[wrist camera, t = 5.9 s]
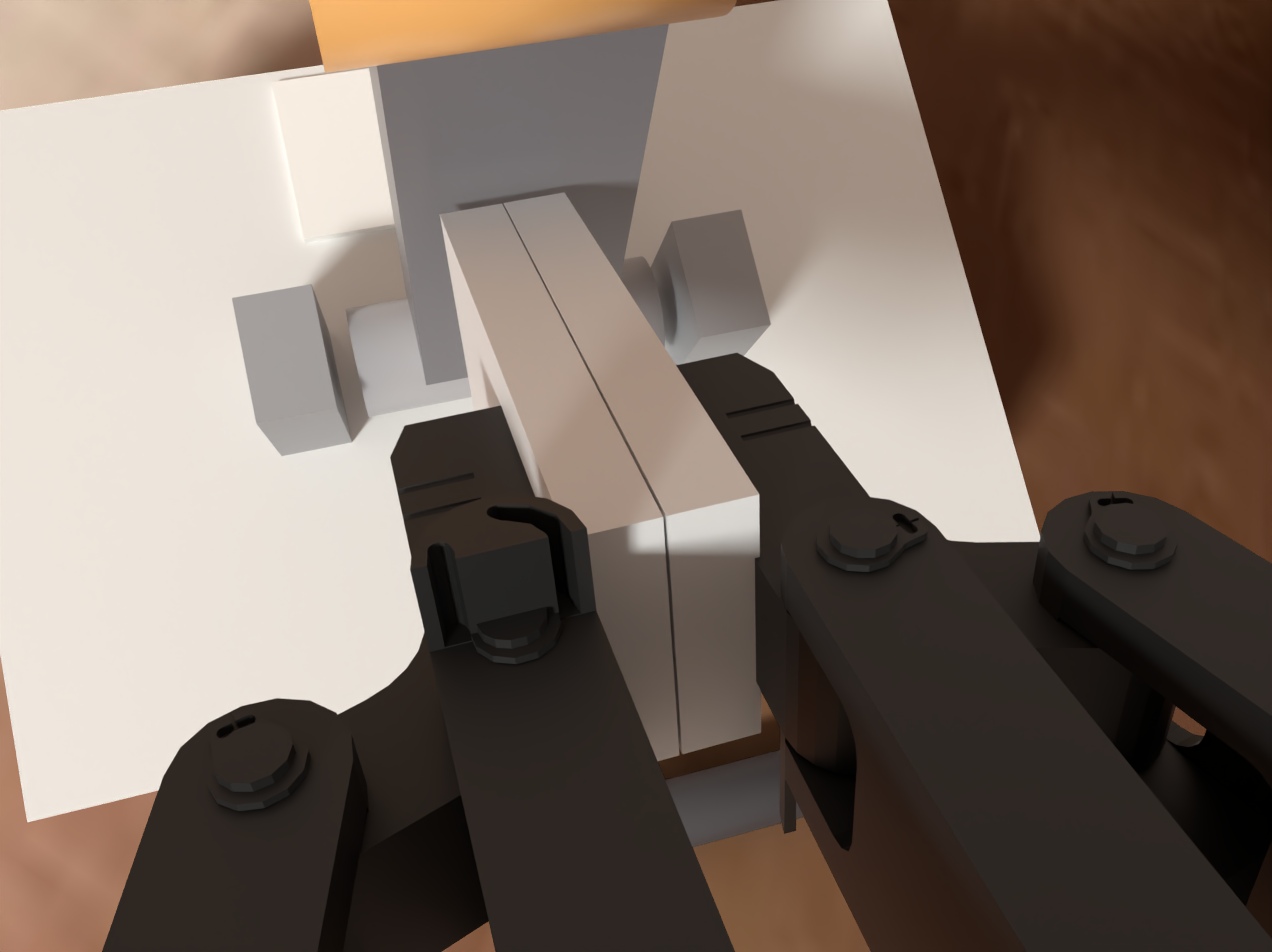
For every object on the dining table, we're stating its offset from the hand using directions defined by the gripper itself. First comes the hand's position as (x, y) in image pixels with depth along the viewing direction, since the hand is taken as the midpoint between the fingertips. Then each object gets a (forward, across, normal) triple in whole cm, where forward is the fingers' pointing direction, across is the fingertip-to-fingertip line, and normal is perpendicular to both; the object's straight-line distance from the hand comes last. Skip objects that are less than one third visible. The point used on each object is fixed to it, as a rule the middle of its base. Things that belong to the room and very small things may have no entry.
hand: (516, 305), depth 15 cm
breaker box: (+9, 0, +11) cm, 14 cm away
